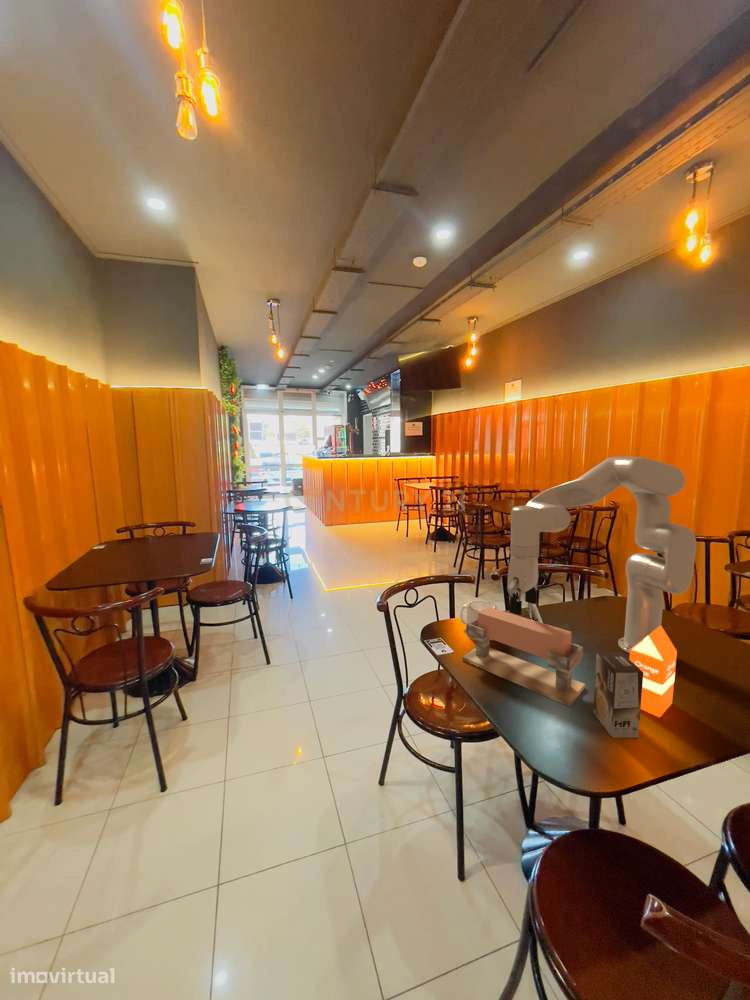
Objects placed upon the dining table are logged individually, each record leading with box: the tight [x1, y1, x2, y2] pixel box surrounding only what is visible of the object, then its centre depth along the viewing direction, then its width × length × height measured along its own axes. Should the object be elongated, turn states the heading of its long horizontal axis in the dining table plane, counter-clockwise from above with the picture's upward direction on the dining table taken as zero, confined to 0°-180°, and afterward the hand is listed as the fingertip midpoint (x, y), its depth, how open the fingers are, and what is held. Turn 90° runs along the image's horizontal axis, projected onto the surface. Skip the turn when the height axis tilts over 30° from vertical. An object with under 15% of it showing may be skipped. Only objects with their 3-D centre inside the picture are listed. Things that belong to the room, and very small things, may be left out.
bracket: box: [526, 602, 544, 623], centre depth 145 cm, size 3×21×10 cm, turn 174°
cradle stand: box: [462, 618, 586, 707], centre depth 117 cm, size 32×11×12 cm, turn 45°
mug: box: [459, 599, 498, 641], centre depth 142 cm, size 14×10×11 cm
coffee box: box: [592, 651, 643, 739], centre depth 95 cm, size 9×6×16 cm
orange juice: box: [628, 625, 678, 718], centre depth 102 cm, size 8×9×20 cm
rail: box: [478, 607, 572, 660], centre depth 116 cm, size 25×6×7 cm, turn 45°
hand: (523, 608), depth 115 cm, fingers open, 9 cm apart
